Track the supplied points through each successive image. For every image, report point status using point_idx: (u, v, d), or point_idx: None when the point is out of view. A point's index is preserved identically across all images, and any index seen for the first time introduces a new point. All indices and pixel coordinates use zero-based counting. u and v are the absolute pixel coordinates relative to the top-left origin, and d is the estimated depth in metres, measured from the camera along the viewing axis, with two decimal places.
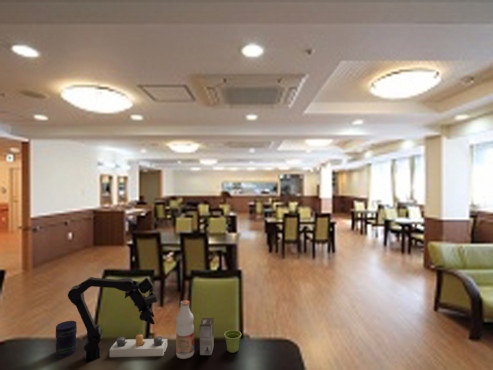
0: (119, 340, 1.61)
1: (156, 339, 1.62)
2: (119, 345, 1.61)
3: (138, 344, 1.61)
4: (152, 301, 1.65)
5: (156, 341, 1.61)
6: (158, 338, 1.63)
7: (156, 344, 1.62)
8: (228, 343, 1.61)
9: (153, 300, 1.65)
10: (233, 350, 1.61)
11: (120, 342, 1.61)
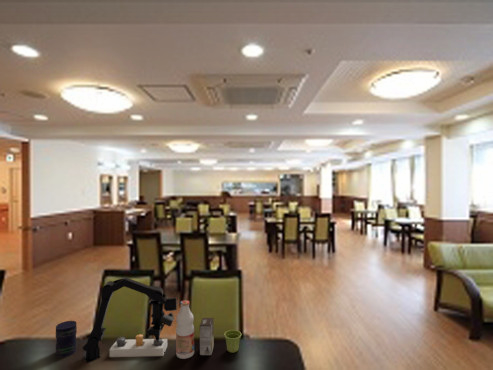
0: (119, 340, 1.61)
1: (156, 341, 1.62)
2: (119, 345, 1.61)
3: (138, 344, 1.61)
4: (166, 323, 1.61)
5: (156, 343, 1.61)
6: (158, 340, 1.63)
7: None
8: (228, 343, 1.61)
9: (168, 323, 1.61)
10: (233, 350, 1.61)
11: (120, 342, 1.61)
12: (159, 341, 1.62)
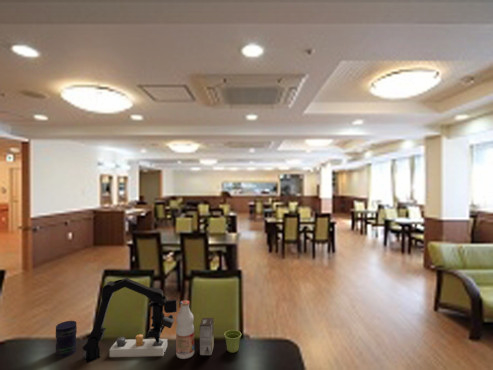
0: (119, 340, 1.61)
1: (156, 343, 1.62)
2: (119, 345, 1.61)
3: (138, 344, 1.61)
4: (166, 325, 1.61)
5: (156, 345, 1.61)
6: (158, 342, 1.63)
7: None
8: (228, 343, 1.61)
9: (168, 325, 1.61)
10: (233, 350, 1.61)
11: (120, 342, 1.61)
12: (159, 343, 1.62)
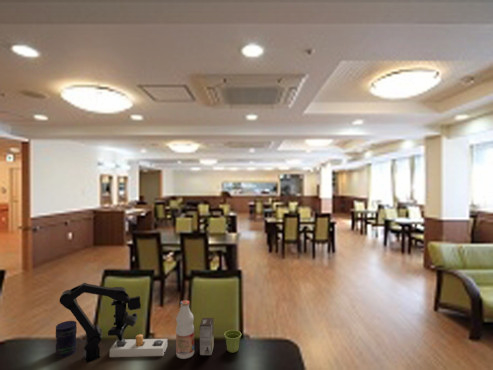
0: (119, 341, 1.61)
1: (156, 343, 1.62)
2: (119, 346, 1.61)
3: (138, 344, 1.61)
4: (129, 323, 1.60)
5: (156, 345, 1.61)
6: (158, 342, 1.63)
7: None
8: (228, 343, 1.61)
9: (130, 323, 1.60)
10: (233, 350, 1.61)
11: (120, 343, 1.61)
12: (159, 343, 1.62)
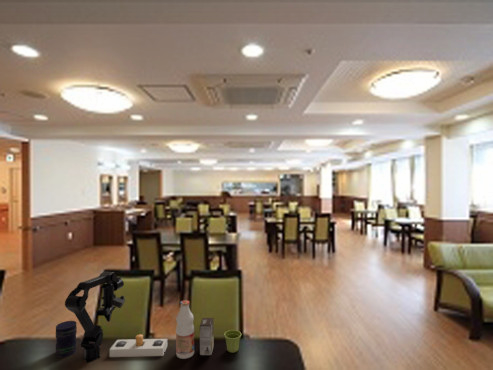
0: (119, 344, 1.61)
1: (156, 343, 1.62)
2: None
3: (138, 344, 1.61)
4: (116, 305, 1.68)
5: (156, 345, 1.61)
6: (158, 342, 1.63)
7: None
8: (228, 343, 1.61)
9: (117, 304, 1.68)
10: (233, 350, 1.61)
11: (120, 346, 1.61)
12: (159, 343, 1.62)
